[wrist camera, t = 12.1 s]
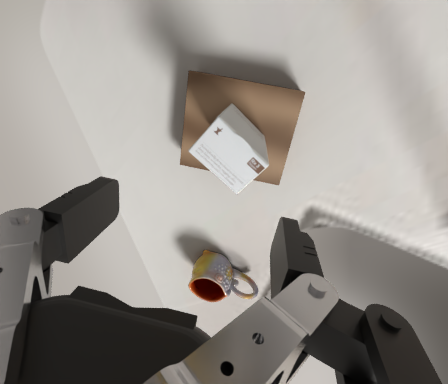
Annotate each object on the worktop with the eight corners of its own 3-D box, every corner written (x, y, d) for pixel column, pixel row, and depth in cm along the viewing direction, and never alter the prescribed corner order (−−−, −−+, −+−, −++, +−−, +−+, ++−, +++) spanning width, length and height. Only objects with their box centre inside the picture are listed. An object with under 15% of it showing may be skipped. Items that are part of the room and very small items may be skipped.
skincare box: (209, 127, 32) (181, 152, 21) (233, 100, 31) (215, 112, 20) (244, 160, 33) (233, 199, 22) (268, 135, 32) (270, 165, 21)
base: (196, 71, 34) (188, 70, 30) (300, 90, 33) (305, 92, 29) (187, 156, 39) (179, 164, 35) (277, 175, 38) (278, 185, 34)
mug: (192, 270, 48) (182, 298, 42) (201, 243, 45) (191, 269, 39) (251, 291, 48) (249, 321, 42) (264, 265, 45) (263, 294, 39)
